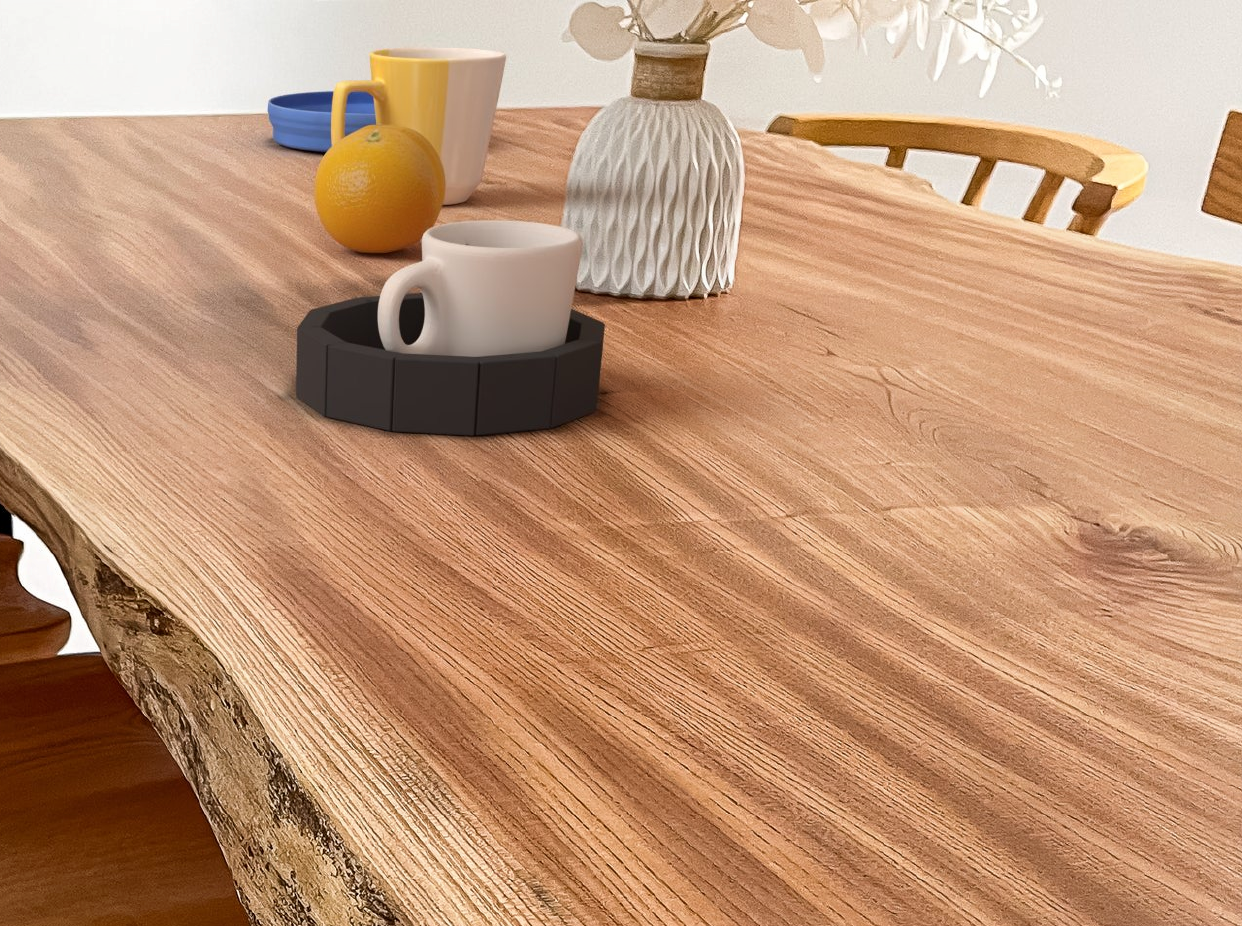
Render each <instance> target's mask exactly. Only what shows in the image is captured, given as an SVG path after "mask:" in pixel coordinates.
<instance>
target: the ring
mask: <svg viewBox="0 0 1242 926" xmlns="http://www.w3.org/2000/svg"><path fill="white" fill-rule="evenodd" d="M379 299H380V295H374V296H360V297H354V298H349V299H346V300H342V301H339V302H335V303H331V304H327V305H323V306H319V307H315V308H311V309H310V310H308V312H307V313H306V315H305V316H304V317H303V318H302V320H301V322H300V323H299V324H298V326H297V328H296V368H295V369H296V370H295V371H296V373H295V374H296V375H295V378H296V379H295V380H296V381H295V395H296V399H299V400H300V401H301V402H302V403H304V404H305V405H307V406H309V407H310V408H312V409H313V410H314V411H316V412H318V413H319V414H320V415H322V416H323V417H327V418H330V419H334V420H338V421H343V422H347V423H353V424H357V425H360V426H361V425H362V426H366V427H370V428H375V429H377V430H384V431H387V432H391V431H392V432H395V433H410V434H411V433H414V434H430V435H431V434H432V435H449V436H469V437H473V436H488V435H497V434H508V433H518V432H528V431H529V432H530V431H539V430H540V431H541V430H548V429H553V428H556V427H558V426H561V425H565V424H567V423H569V422H572V421H575V420H577V419H580V418H583V417H586V416H588V415H591V414H593V413H595V412H596V411H597V409H598V399H599V390H600V383H601V382H600V381H601V370H602V359H603V351H604V340H605V339H604V338H605V328H606V324H605V323H604V322H603V321H601V320H598V319H596V318H594V317H591V316H590V315H587V314H585V313H583V312H581V311H578V310H576V309H574V308H571V313H570V318H569V324H568V329H567V335H566V340H565V344H563V345H560V346H557V347H553V348H550V349H547V350H544V351H540V352H528V353H517V354H505V355H493V356H481V357H469V356H448V355H427V354H405V353H398V352H393V351H388V350H385V348H384V346H383V343H382V341H381V338H380V333H379V328H378V305H379ZM424 319H425V306H424V299H423V294H422V292H415V293H406V295H405V296H404V298H403V300H402V303H401V306H400V311H399V330H400V335H401V338H402V340H403V342H404V343H405V344H406V345H412V344H413V343H415V342H416V341H417V340H418V339H419V337H420V335H421V333H422V330H423V326H424Z"/></svg>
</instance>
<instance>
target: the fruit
mask: <svg viewBox="0 0 1242 926" xmlns="http://www.w3.org/2000/svg"><path fill="white" fill-rule="evenodd" d="M445 189H446V182H445V173H444V169H443V165H442V162H441V160H440V158H439V156H438V154H437V152H436V150H435V149H434V147H433V146H432V145H431V144H430V142H429V141H428V140H427V139H426V138H425V137H424V136H423V135H421V134H420V133H418V132H417V131H415V130H412V129H409V128H407V127H402V126H395V125H368V126H365V127H363V128H361V129H359V130H357V131H355V132H353V133H351V134H349V135H348V136H346V137H344V138H342V139H341V140H340V141H338V142H337V143H336V144H334V145H333V146H332V147H331V148H330V149H329V150H328V151H327V152H325V154H324V155H323V157H322V159H321V160H320V162H319V164H318V167H317V171H316V174H315V180H314V204H315V208H316V212H317V215H318V218H319V221H320V223H321V225H322V226H323V228H324V230H325V231H326V232H327V233H328V234H329V236H331V238H333V240H334V241H336V242H337V243H338V244H340V245H341V246H342V247H344V248H347V249H348V250H350V251H352V252H353V251H354V252H357V253H361V254H362V253H364V254H388V253H394V252H397V251H400V250H402V249H405V248H408V247H410V246H412V245H415V244H417V243H419V242H420V241H422V237H423V234H424V233H425V232H426V231H427V230H428V229H430V228H432V227H435V224H436V222H437V221H438V218H439V216H440V213H441V210H442V208H443V206H444V205H443V201H444V197H445Z"/></svg>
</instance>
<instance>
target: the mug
mask: <svg viewBox="0 0 1242 926" xmlns="http://www.w3.org/2000/svg"><path fill="white" fill-rule="evenodd" d="M368 57H369V66H370V67H369V68H370V79H371V80H368V79H367V80H365V79H363V80H362V79H361V80H360V79H359V80H358V79H357V80H353V79H352V80H342V81H339V82H338V83H336V84H335V86H334V89H333V91H334V93H333V101H332V114H331V143H332V146H333V145H334V144H336V143H337V142H338V141H340V140H341V139H342V138H344V137H345V110H346V102H347V97H348V94H349V93H350V92H354V91H364V92H367V93H369V94H371V95H372V96H373V98H374V106H375V115H376V124H377V125H395V126H402V127H407V128H409V129H412V130H415V131H417V132H418V133H420V134H421V135H423V136H424V137H425V138H426V139H427V140H428V141H429V142H430V144H431V145H432V146H433V147H434V149H435V150H436V152H437V154H438V156H439V158H440V160H441V162H442V165H443V169H444V173H445V182H446V189H445V197H444V201H443V205H442V206H451V205H457V204H462V203H464V202H466V201H467V200H468V199H469V198H470V197H471V196H472V194H473V193H474V192H475V190H477V188H478V187H479V186H480V184H481V183H482V180H483V177H484V172H485V168H486V167H485V166H486V160H487V157H488V151H489V146H490V141H491V137H492V131H493V126H494V120H495V117H496V111H497V108H498V103H499V97H500V92H501V87H502V82H503V79H504V78H503V77H504V72H505V67H506V66H505V65H506V60H507V54H506V53H504V52H501V51H498V50H493V49H492V50H491V49H484V48H483V49H482V48H469V47H445V46H444V47H443V46H408V47H407V46H406V47H405V46H404V47H391V48H386V49H385V48H382V49H377V50H373V51H371V52H369V56H368Z"/></svg>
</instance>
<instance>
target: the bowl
mask: <svg viewBox="0 0 1242 926" xmlns="http://www.w3.org/2000/svg"><path fill="white" fill-rule="evenodd" d="M333 93H334V90H327V91H326V90H325V91H307V92H297V93H296V92H295V93H289V94H282V95H278V96H274V97H272V98H270V99H269V100H268V102H267V114H268V121H269V122H270V124H271V126H272V139H273V140H274V142H275V143H276V144H278V145H280V146H284V147H287V148H291V149H296V150H304V151H310V152H320V153H326V152H327V151H328V150H329V149H330V148H331V147H332V143H331V114H332V101H333ZM368 125H377V124H376V115H375V106H374V98H373V96H372V95H371V94H369V93H367V92H364V91H354V92H350V93H349V94H348V97H347V102H346V110H345V137H346V136H348V135H349V134H351V133H353V132H355V131H357V130H359V129H361V128H363V127H365V126H368Z"/></svg>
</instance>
